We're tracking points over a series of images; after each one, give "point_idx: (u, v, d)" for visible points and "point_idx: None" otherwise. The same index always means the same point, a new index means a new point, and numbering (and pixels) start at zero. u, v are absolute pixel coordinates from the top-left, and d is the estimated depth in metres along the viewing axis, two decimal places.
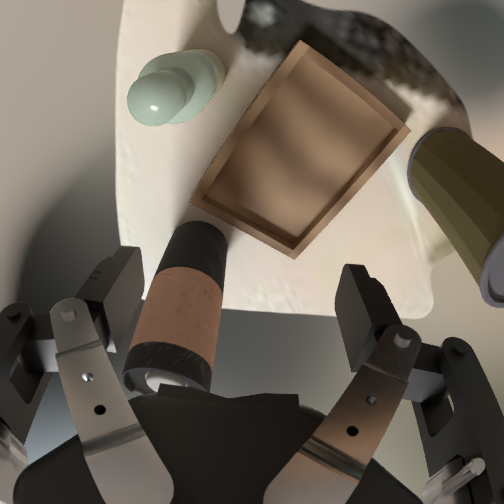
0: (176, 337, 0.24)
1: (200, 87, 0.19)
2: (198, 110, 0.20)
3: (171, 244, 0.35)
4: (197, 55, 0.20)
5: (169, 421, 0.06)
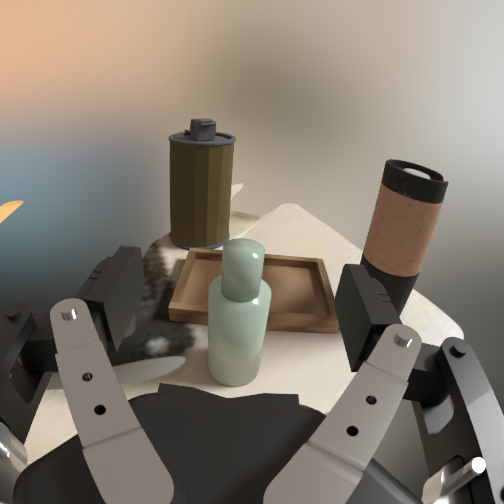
0: (385, 194, 0.31)
1: None
2: None
3: None
4: None
5: (169, 421, 0.06)
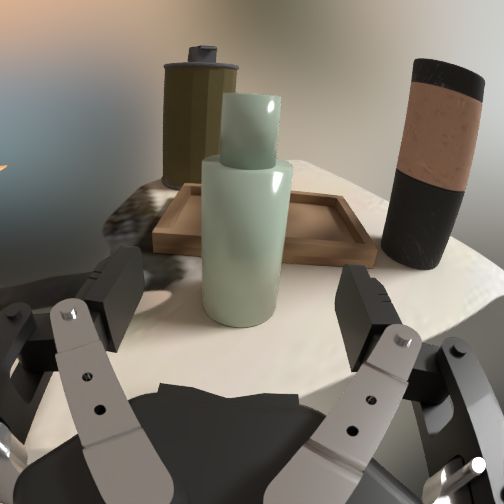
0: (419, 89, 0.23)
1: None
2: None
3: (424, 233, 0.27)
4: None
5: (169, 421, 0.06)
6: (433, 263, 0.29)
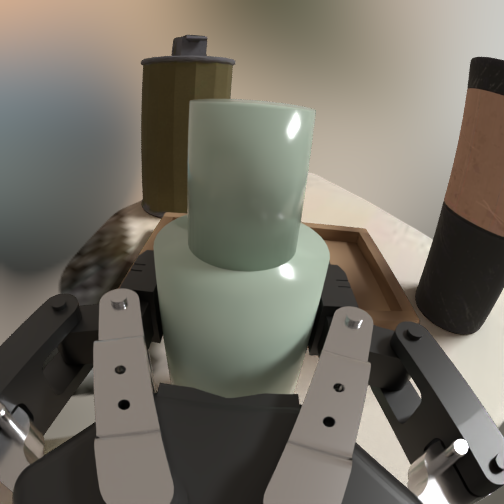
0: (484, 100, 0.14)
1: None
2: None
3: (476, 294, 0.19)
4: None
5: (169, 421, 0.06)
6: (479, 326, 0.20)
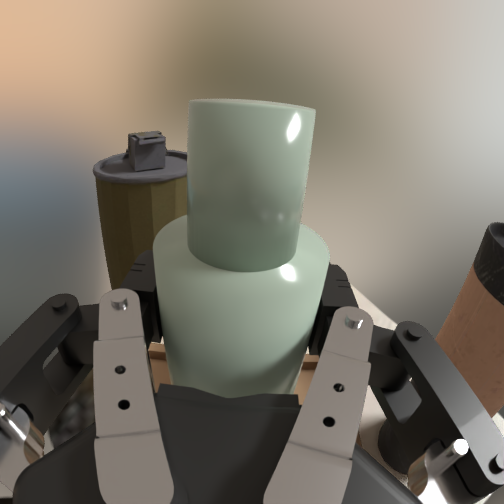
0: (488, 307, 0.13)
1: None
2: None
3: None
4: None
5: (169, 421, 0.06)
6: None
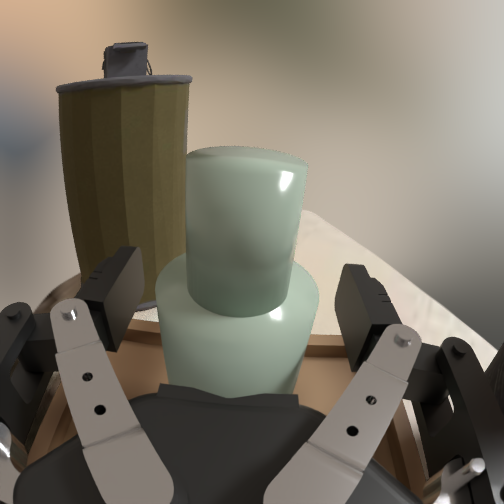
0: None
1: None
2: None
3: None
4: None
5: (169, 421, 0.06)
6: None
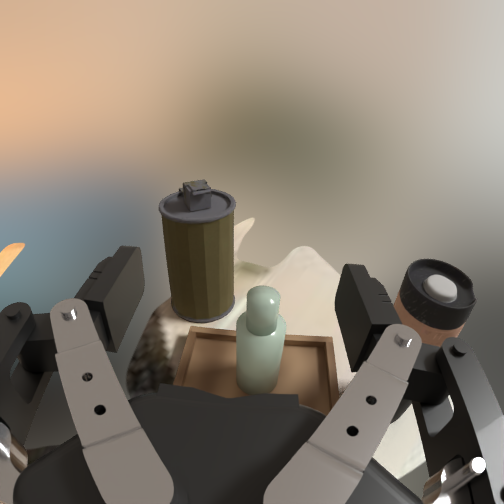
0: (402, 313, 0.26)
1: None
2: None
3: None
4: None
5: (169, 421, 0.06)
6: (393, 421, 0.32)
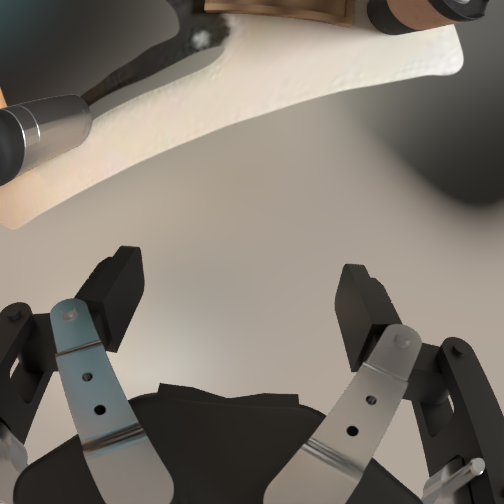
0: None
1: None
2: None
3: (389, 27, 0.32)
4: None
5: (169, 421, 0.06)
6: (396, 34, 0.34)
